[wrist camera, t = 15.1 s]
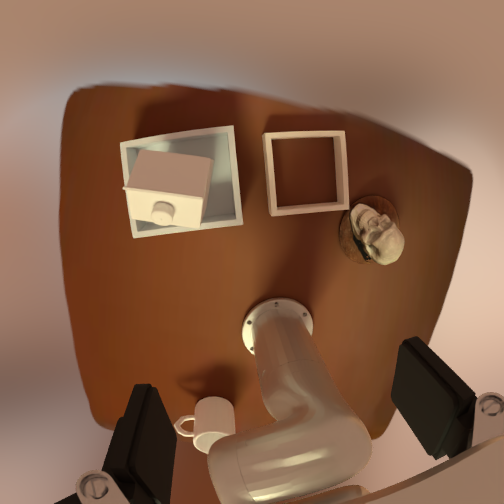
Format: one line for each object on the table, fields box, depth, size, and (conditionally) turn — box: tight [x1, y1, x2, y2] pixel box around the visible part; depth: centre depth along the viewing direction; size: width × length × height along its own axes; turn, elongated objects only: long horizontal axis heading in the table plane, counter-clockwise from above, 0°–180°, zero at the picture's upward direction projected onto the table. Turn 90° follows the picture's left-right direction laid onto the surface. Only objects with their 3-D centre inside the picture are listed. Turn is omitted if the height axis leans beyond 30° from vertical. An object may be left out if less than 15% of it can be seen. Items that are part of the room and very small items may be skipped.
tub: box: [120, 125, 243, 238], centre depth 40 cm, size 13×15×6 cm
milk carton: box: [123, 150, 214, 228], centre depth 33 cm, size 7×7×19 cm
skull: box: [339, 195, 404, 265], centre depth 47 cm, size 12×10×10 cm
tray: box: [262, 131, 349, 216], centre depth 43 cm, size 12×12×3 cm
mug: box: [174, 397, 235, 454], centre depth 52 cm, size 8×12×10 cm, turn 73°
